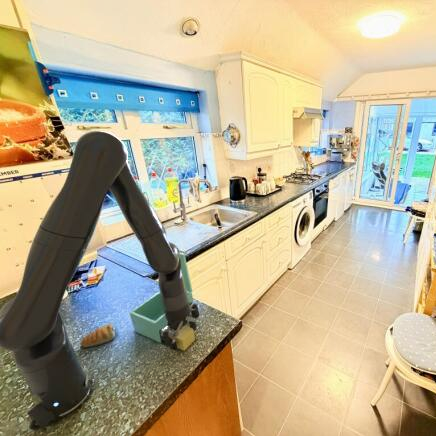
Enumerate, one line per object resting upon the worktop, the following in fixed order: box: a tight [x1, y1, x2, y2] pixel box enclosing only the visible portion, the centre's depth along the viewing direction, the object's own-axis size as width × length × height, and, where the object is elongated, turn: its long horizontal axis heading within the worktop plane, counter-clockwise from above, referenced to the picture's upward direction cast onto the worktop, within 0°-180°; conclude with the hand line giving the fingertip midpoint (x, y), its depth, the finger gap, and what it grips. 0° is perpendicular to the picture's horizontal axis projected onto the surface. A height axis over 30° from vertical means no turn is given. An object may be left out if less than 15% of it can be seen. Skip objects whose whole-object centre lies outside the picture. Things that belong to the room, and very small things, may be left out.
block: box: [171, 325, 196, 352], centre depth 81 cm, size 5×5×5 cm
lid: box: [178, 248, 193, 293], centre depth 93 cm, size 17×13×5 cm
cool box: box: [129, 291, 195, 343], centre depth 89 cm, size 17×13×9 cm
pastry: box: [80, 323, 116, 348], centre depth 82 cm, size 9×7×4 cm
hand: (184, 339), depth 81 cm, fingers open, 8 cm apart
